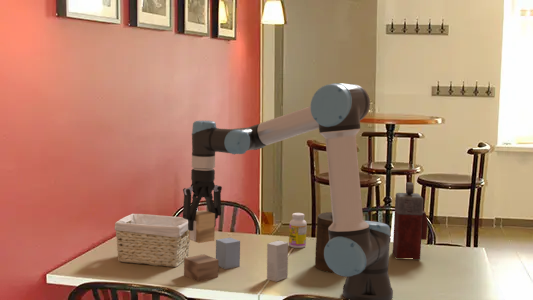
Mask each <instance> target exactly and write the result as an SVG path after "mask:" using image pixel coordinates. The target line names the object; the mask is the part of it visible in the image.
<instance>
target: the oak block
mask: <svg viewBox="0 0 533 300" xmlns="http://www.w3.org/2000/svg"><path fill="white" fill-rule="evenodd" d="M194 220H195V221H197V222H196V241H193V240H191V241H193V242H195V243H198V244H201V243H207V242H208V243H209V242H214V241H215V235H216V233H215V229H216V226H215V213H212V212H209V211H208V210H204V209H203V210H197V212H196V216H195V219H194ZM189 239H190V230H189Z"/></svg>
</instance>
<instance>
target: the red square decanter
mask: <svg viewBox="0 0 533 300" xmlns="http://www.w3.org/2000/svg"><path fill="white" fill-rule="evenodd" d="M414 185H415V184H414V182H406V184H405V192H396V193H395V199H394V201H395V202H394V221H393V239H392V241H393V242H392V254H394V255H393V257H394V256H395V257H396V258H413V259H420V260H421V254H422V253H421V251H422V250H421V248H422V240H425V241H426V240H427V239H428V238H427V237H428V222H429V221H428V217H427V213H426V212H425V210H424V197H422V195H420V194H419V193H417V192H416V193H414V190H415V189H414ZM395 257H394V258H395Z"/></svg>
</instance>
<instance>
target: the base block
mask: <svg viewBox="0 0 533 300" xmlns="http://www.w3.org/2000/svg"><path fill="white" fill-rule="evenodd" d="M183 276H184V277H187V278H189V279H191V280H194V281H196V282H203V281H206V280H207V281H208V280H211V279H217V278H219V266H218V259H216V257H215V258H214V257H212V256H210V255H207V254H198V255H194V256H188V257H187V258H184V261H183Z"/></svg>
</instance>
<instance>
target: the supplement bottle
mask: <svg viewBox="0 0 533 300" xmlns="http://www.w3.org/2000/svg"><path fill="white" fill-rule="evenodd" d="M304 218H305V213H302V212H294V213H292V219H291V220H290V221H289V226H288V227H289V228H288V229H289V230H288V231H289V234H288V247H289V248H290V247H291V248H294V249H302V248H305V247H306V246H307V228H308V227H307V224H308V223H307V221H306V220H305V219H304Z"/></svg>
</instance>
